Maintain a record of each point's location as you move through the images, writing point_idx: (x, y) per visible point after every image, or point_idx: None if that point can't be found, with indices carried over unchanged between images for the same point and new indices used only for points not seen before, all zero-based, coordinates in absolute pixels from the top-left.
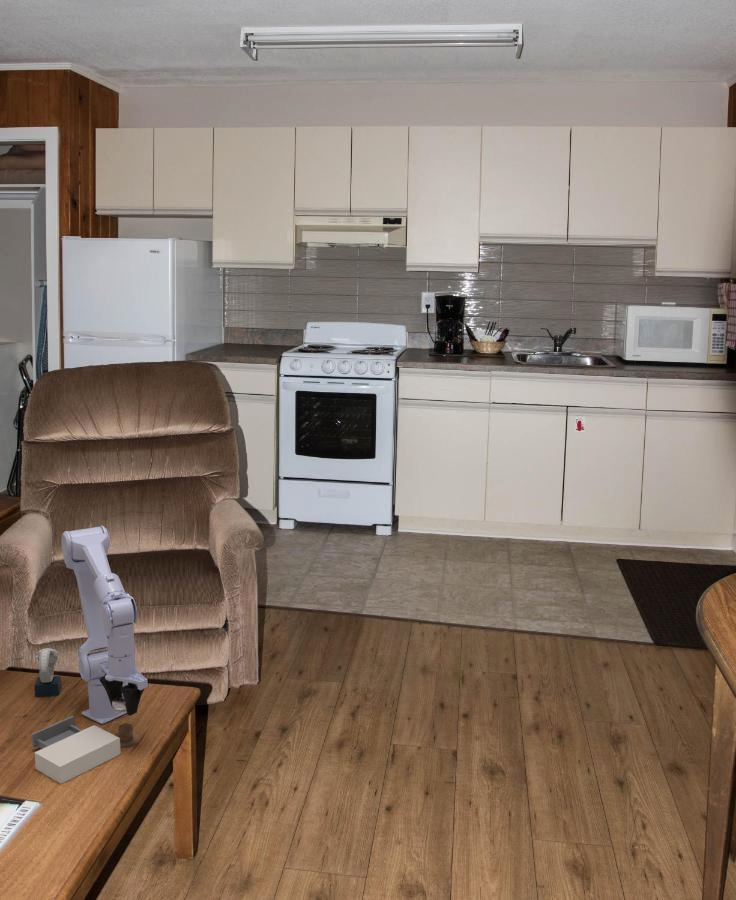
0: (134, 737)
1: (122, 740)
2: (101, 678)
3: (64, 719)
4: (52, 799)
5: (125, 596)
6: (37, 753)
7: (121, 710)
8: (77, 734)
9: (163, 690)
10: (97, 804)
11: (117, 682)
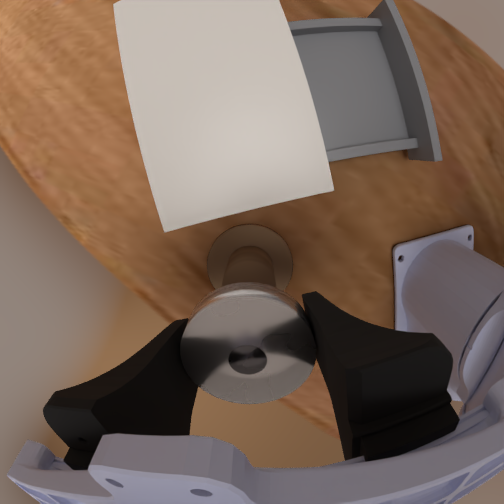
0: None
1: (235, 252)
2: (436, 365)
3: (434, 123)
4: (91, 7)
5: None
6: None
7: (194, 309)
8: (299, 101)
9: None
10: (19, 97)
11: (340, 421)
